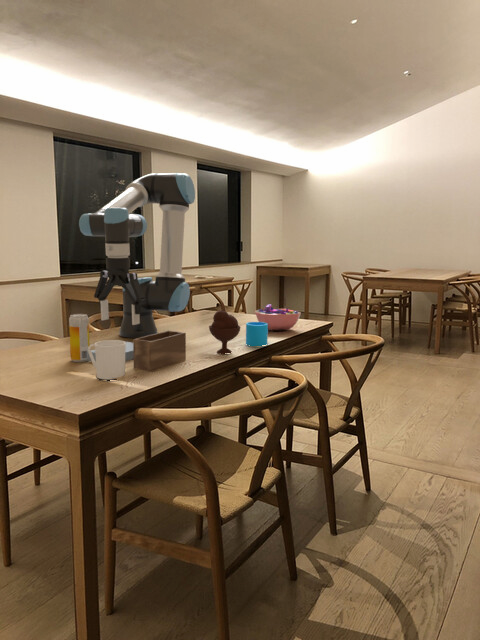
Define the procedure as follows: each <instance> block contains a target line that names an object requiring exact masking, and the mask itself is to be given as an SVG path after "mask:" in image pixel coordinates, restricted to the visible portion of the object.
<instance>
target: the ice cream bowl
mask: <svg viewBox="0 0 480 640" xmlns="http://www.w3.org/2000/svg"><path fill="white" fill-rule="evenodd" d="M212 319H213V322H212V323H211V325H208V329H209V333H210V334H211V335H212V337H214V339H216V340H217V341H219V342H220V343H221V348H220V349H218V350H217V351H216V354H218V353H221V354H220V355H226V354H225V353H231V352H232V350H231V349H229V348H228V342H230V341H232V340H234V339H235V338H236V337H237V336H238V335H239V334H240V331H241V326H240V325H239V322H238V319H237V318H236V317H235V316H234V315H232V314H229V313H228V312H227V311H225V310H218V311H216V312H215V313H214V315H213V318H212ZM232 353H233V352H232ZM232 353H231V354H232Z"/></svg>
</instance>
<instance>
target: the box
mask: <svg viewBox="0 0 480 640" xmlns="http://www.w3.org/2000/svg"><path fill="white" fill-rule="evenodd" d="M186 335H187V334H186V332H184V331H183V332H182V331H174V330H164V331H160V332H157V333H156V334H152V335H148V336H144V337H140V338H132V343H133V355H134V359H133V369H136V370H141V371H147V372H154V371H155V372H156V371H158V370H160V369H164V368H166V367H170V366H172V365H175V364H179V363H181V362H185V361H187V360H186V359H187V358H186V357H187V354H186V352H187V351H186V349H187V347H186V346H187V345H186V344H187V339H186Z"/></svg>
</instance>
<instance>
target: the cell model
mask: <svg viewBox="0 0 480 640" xmlns="http://www.w3.org/2000/svg"><path fill="white" fill-rule="evenodd" d="M254 312H255V316H256V319H257V322H264V323H267V324H268V331H288V330H290V329H292V328H293V327H294V326H295V325H296V324H297V323H298V321H299V319H300V316H301V313H302V312H301V311H298V310H294V309H289V308H273V307H272V304H270V303H269V304H266V305H265V307H264V308H261V309H256V310H255V311H254Z"/></svg>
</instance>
